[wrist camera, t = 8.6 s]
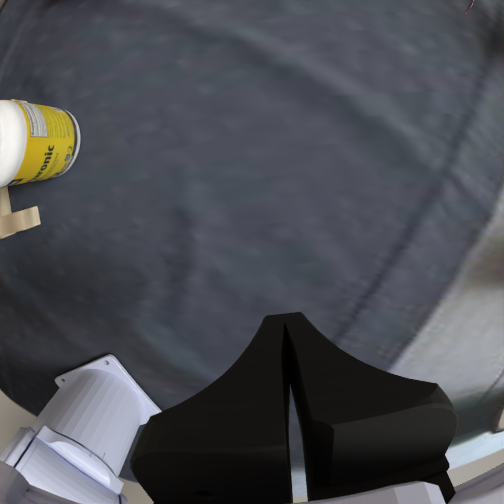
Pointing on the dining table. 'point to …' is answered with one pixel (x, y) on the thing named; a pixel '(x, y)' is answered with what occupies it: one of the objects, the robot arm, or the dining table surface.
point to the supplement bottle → (35, 142)
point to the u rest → (8, 223)
